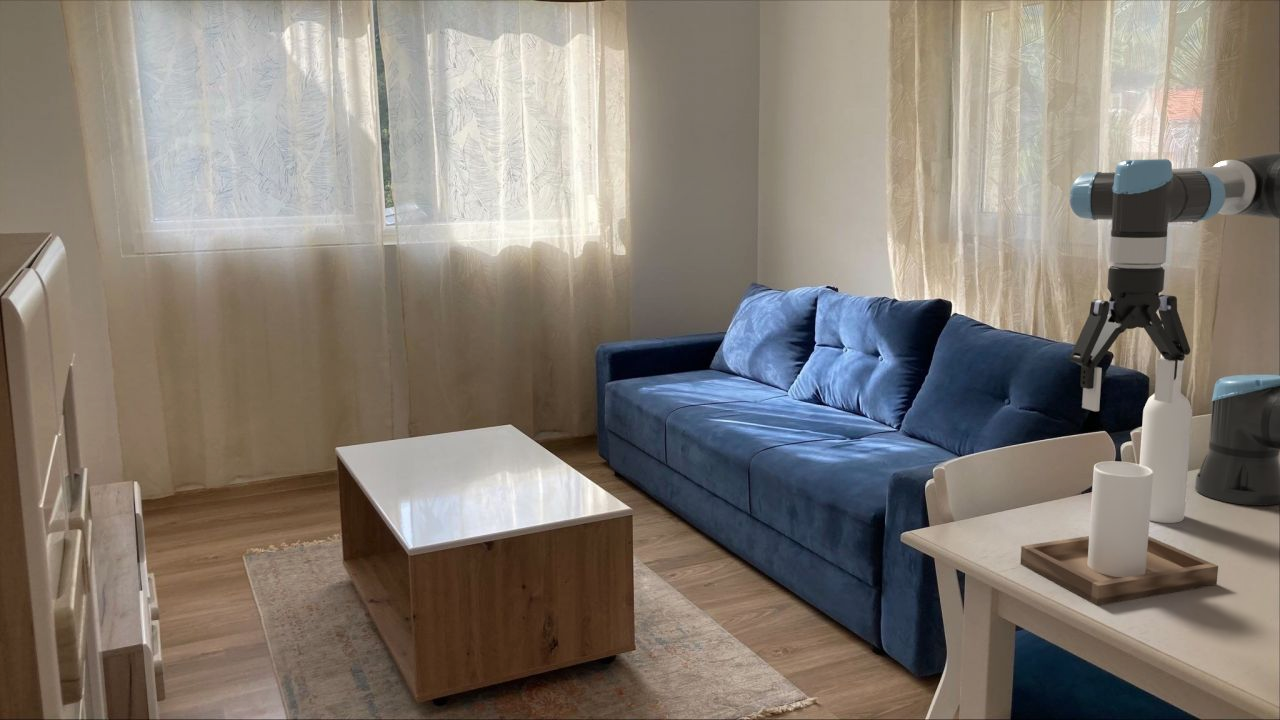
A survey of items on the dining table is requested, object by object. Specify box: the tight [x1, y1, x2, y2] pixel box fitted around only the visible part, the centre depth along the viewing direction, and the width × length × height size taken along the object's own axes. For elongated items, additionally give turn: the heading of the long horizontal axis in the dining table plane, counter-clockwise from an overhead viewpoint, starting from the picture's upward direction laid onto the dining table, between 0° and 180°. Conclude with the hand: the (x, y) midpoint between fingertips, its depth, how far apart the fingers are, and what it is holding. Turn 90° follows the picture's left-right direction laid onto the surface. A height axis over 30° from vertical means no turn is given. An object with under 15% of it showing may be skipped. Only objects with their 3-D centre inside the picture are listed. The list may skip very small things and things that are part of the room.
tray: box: [1020, 535, 1219, 606], centre depth 158 cm, size 22×17×3 cm
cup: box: [1087, 460, 1153, 578], centre depth 157 cm, size 8×8×16 cm
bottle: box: [1138, 354, 1193, 524], centre depth 182 cm, size 8×8×30 cm
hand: (1127, 405), depth 154 cm, fingers open, 13 cm apart
